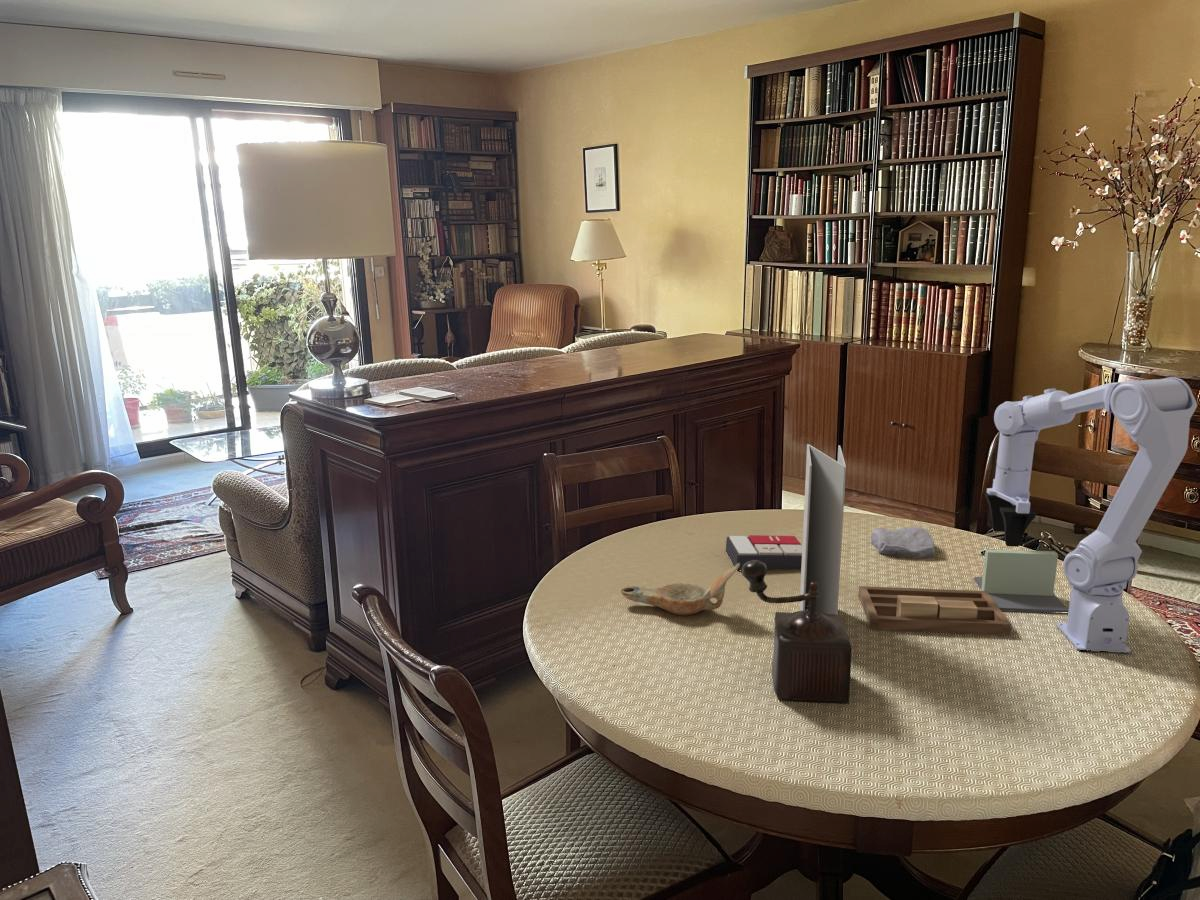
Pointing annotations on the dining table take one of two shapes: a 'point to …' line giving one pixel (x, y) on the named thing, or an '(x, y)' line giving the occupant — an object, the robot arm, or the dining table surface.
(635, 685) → the dining table surface
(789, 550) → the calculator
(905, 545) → the stone block
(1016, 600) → the mat
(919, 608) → the offcut
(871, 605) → the rack
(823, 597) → the brochure
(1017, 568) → the pale green rectangular block
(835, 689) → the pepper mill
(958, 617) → the offcut
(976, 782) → the dining table surface
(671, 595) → the oil lamp
